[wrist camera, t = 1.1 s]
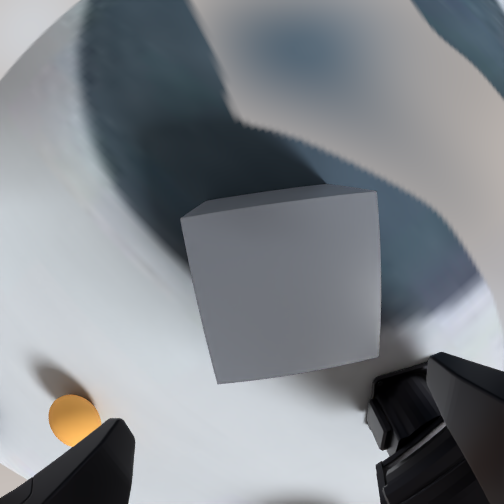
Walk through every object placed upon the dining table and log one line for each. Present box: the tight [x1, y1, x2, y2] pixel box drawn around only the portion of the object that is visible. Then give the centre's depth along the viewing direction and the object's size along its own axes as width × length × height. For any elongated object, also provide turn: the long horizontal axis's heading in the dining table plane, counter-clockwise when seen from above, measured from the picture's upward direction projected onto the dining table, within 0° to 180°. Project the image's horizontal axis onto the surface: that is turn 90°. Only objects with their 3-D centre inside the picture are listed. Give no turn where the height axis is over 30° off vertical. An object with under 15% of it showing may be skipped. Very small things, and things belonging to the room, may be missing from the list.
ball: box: [49, 395, 101, 447], centre depth 21 cm, size 5×5×5 cm
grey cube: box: [180, 184, 381, 384], centre depth 16 cm, size 8×8×8 cm
